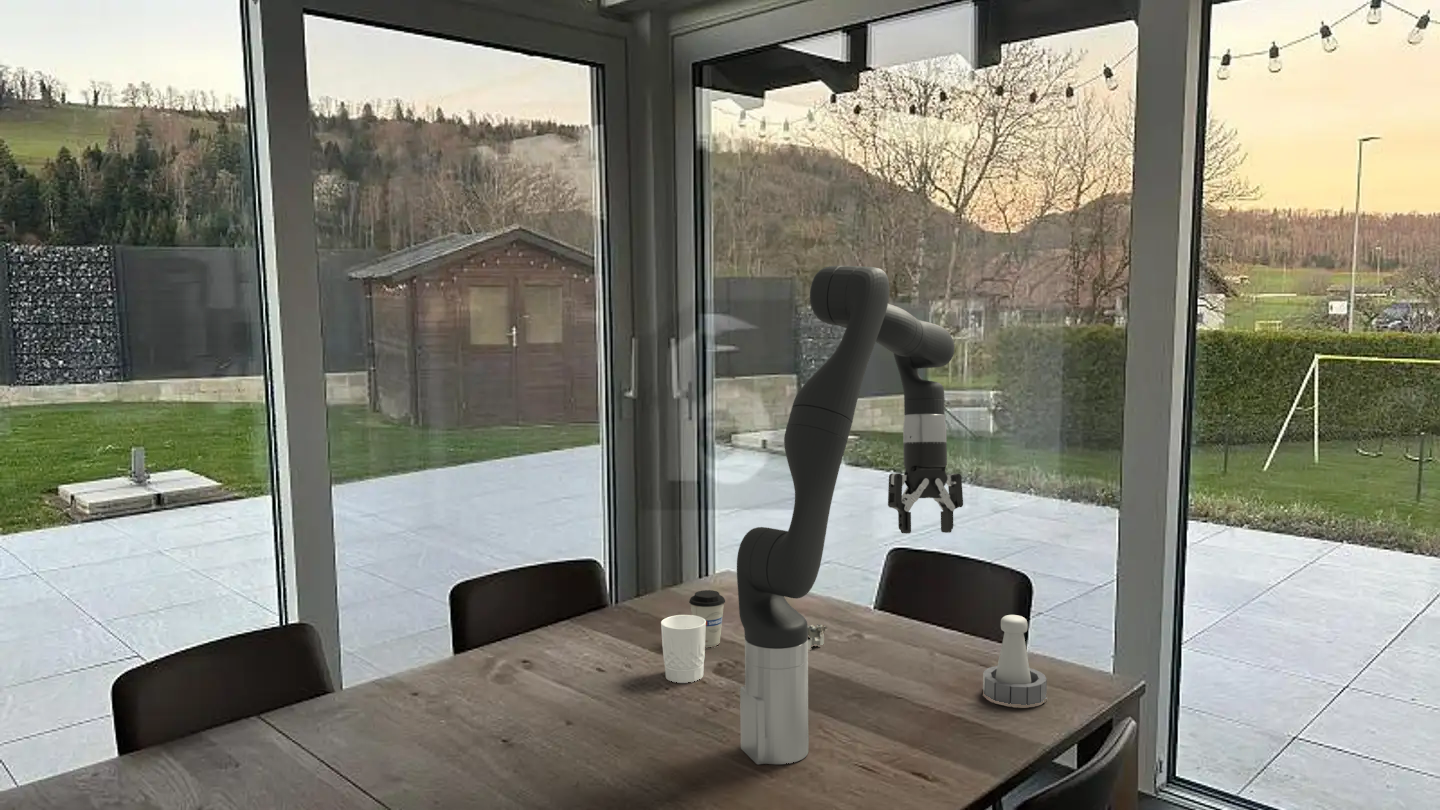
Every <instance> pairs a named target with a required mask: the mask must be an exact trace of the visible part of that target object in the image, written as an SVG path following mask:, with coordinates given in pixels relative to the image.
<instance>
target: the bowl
mask: <svg viewBox="0 0 1440 810" xmlns="http://www.w3.org/2000/svg"><path fill="white" fill-rule="evenodd" d="M997 666H998V665H995V666H990V667H988V668H986V669H985V670H983V672H982V673H983V674H982V675H983V676H982V678H983V679H982V689H983V691H984V694H985V695H986V696H988V697H990V698H991V699H993V700H995V701H999V702H1004V703H1008V704H1010V703H1011V704H1021V705H1026V704H1027V705H1030V704H1035V703H1041V702H1042V701H1043V702H1044V699H1047V700H1048V696H1047V697H1046V694H1047V688H1048V687H1047V682H1048V679H1047V677H1046V675H1045V674H1044V672H1041V671H1040V670H1039V671H1038V670H1037V669H1035V668H1031V667H1029V669H1030V676H1031V683H1030V684H1009V683H1005V682H1001V681H998V680H996V679H995V675H996V670H997Z"/></svg>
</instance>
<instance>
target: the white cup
mask: <svg viewBox="0 0 1440 810" xmlns="http://www.w3.org/2000/svg"><path fill="white" fill-rule="evenodd" d="M660 626H661V627H660V628H661V640H662V641H661V645H662V655H663V664H664V673H665V678H666V680H668V682H669V681H670V682H671V681H672V682H673V683H676V682H677V684H689V683H688V682H691V683H695V682H698V681H700V680H701V679H702V678H703V677H704V672H705V671H704V664H705V663H704V662H705V657H706V656H705V655H706V653H705V652H706V648H705V633H706V620H705V619H704V618H702V617H699V616H694V615H692V614H677V615H676V614H675V615H672V616H668V617H665V618H664V619H662V620H661V621H660ZM699 679H700V680H699ZM697 680H698V681H697ZM694 681H695V682H694ZM672 682H671V683H672Z"/></svg>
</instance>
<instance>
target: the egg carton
mask: <svg viewBox="0 0 1440 810" xmlns="http://www.w3.org/2000/svg"><path fill="white" fill-rule="evenodd" d="M826 631H828V626H826V625H825V624H818V623H817V624H816V626H815V625H814V624H811V625H808V635H809V636H810V639H808V649H810V648H811V645H814V644H817V645H823V644H824V645H825V635H824V634H825V632H826ZM811 649H812V648H811Z"/></svg>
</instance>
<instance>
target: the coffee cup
mask: <svg viewBox="0 0 1440 810" xmlns="http://www.w3.org/2000/svg"><path fill="white" fill-rule="evenodd" d="M688 602H689V603H688V604H690V609H691V611H690V612H691V615H694V616H699V617H702V618H704V619H705V620H706V633H705V647H712V646H716V645H718V644H719V643H720V642H721V636H722V635H721V633H722V624H723V615H724V614H723V613H724V605H725V603H726V599H725V597H724V596H723V595H721V594H720V592H719V591H716V590H710V589H709V590H707V589H705V590H699V591H696V592H694V595H693V596H691V597H690V599H689V601H688ZM720 644H721V643H720Z"/></svg>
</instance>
